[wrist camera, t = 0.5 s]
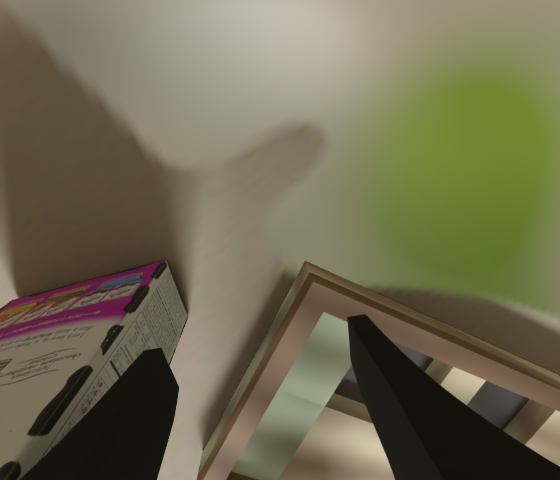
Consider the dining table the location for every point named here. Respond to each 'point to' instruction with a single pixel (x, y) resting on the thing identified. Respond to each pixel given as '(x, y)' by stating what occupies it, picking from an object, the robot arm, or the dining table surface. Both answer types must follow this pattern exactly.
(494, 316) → the dining table surface
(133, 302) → the candy bar box
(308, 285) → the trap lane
